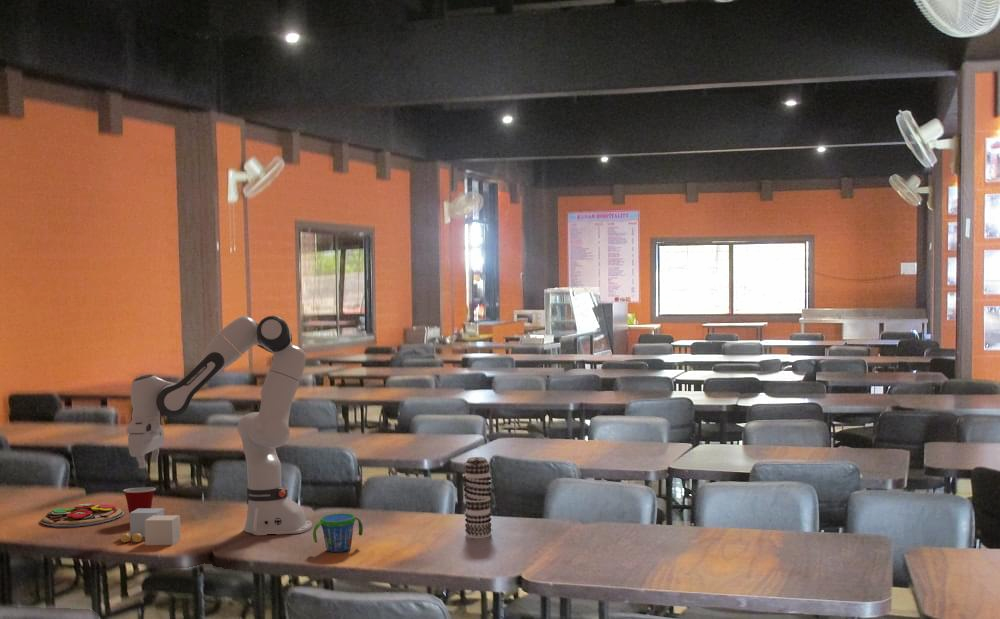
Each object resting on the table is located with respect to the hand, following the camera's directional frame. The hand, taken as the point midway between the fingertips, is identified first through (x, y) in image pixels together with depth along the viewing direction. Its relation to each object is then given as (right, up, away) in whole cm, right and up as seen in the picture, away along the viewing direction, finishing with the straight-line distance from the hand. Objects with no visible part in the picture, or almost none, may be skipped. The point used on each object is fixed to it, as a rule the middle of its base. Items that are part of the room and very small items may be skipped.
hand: (148, 465), depth 327 cm
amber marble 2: (0, -23, -10) cm, 26 cm away
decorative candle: (+110, -21, -10) cm, 113 cm away
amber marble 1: (-4, -24, -10) cm, 26 cm away
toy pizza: (-33, -24, +25) cm, 47 cm away
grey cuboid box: (+9, -23, -11) cm, 27 cm away
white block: (0, -23, 0) cm, 23 cm away
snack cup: (+67, -23, -24) cm, 75 cm away
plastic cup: (-9, -23, +17) cm, 30 cm away
